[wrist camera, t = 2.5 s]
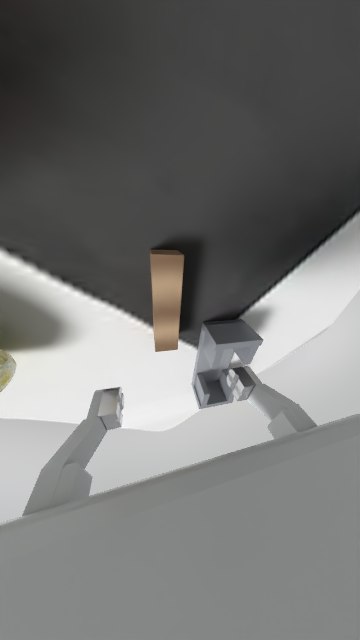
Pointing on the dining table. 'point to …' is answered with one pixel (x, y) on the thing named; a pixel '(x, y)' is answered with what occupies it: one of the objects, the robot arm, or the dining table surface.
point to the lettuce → (6, 368)
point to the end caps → (221, 359)
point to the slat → (166, 297)
